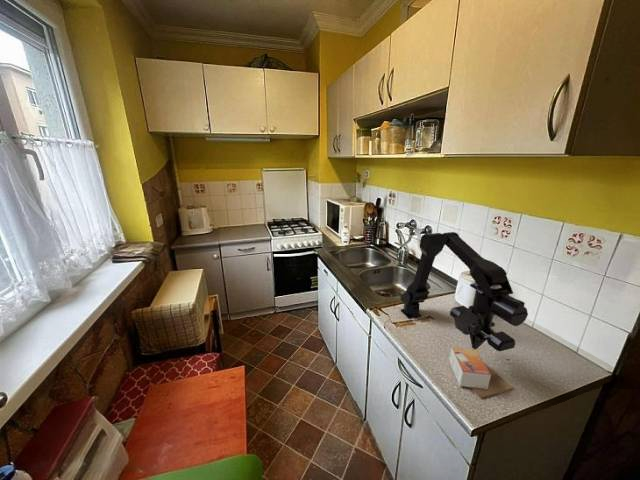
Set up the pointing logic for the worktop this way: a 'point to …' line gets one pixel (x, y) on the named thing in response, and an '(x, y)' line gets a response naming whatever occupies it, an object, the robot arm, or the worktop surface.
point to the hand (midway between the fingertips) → (474, 348)
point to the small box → (469, 368)
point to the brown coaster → (493, 385)
